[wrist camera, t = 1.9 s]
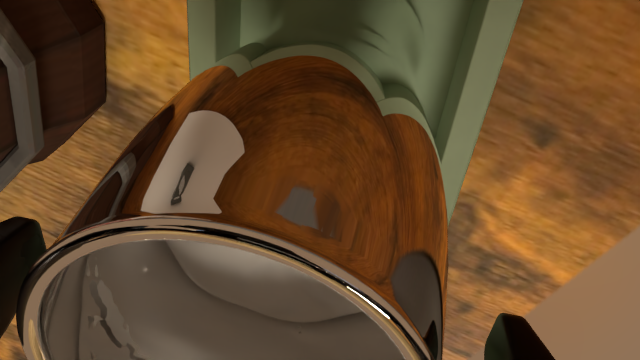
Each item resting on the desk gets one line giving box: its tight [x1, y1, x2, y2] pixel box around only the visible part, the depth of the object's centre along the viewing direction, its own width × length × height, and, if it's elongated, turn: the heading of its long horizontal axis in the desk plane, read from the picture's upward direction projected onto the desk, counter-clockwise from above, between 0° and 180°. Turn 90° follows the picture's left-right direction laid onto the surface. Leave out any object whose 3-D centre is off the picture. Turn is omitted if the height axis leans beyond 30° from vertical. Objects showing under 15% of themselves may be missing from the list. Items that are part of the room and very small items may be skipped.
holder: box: [187, 0, 523, 226], centre depth 22 cm, size 10×20×4 cm, turn 173°
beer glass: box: [16, 0, 448, 360], centre depth 14 cm, size 7×7×15 cm
